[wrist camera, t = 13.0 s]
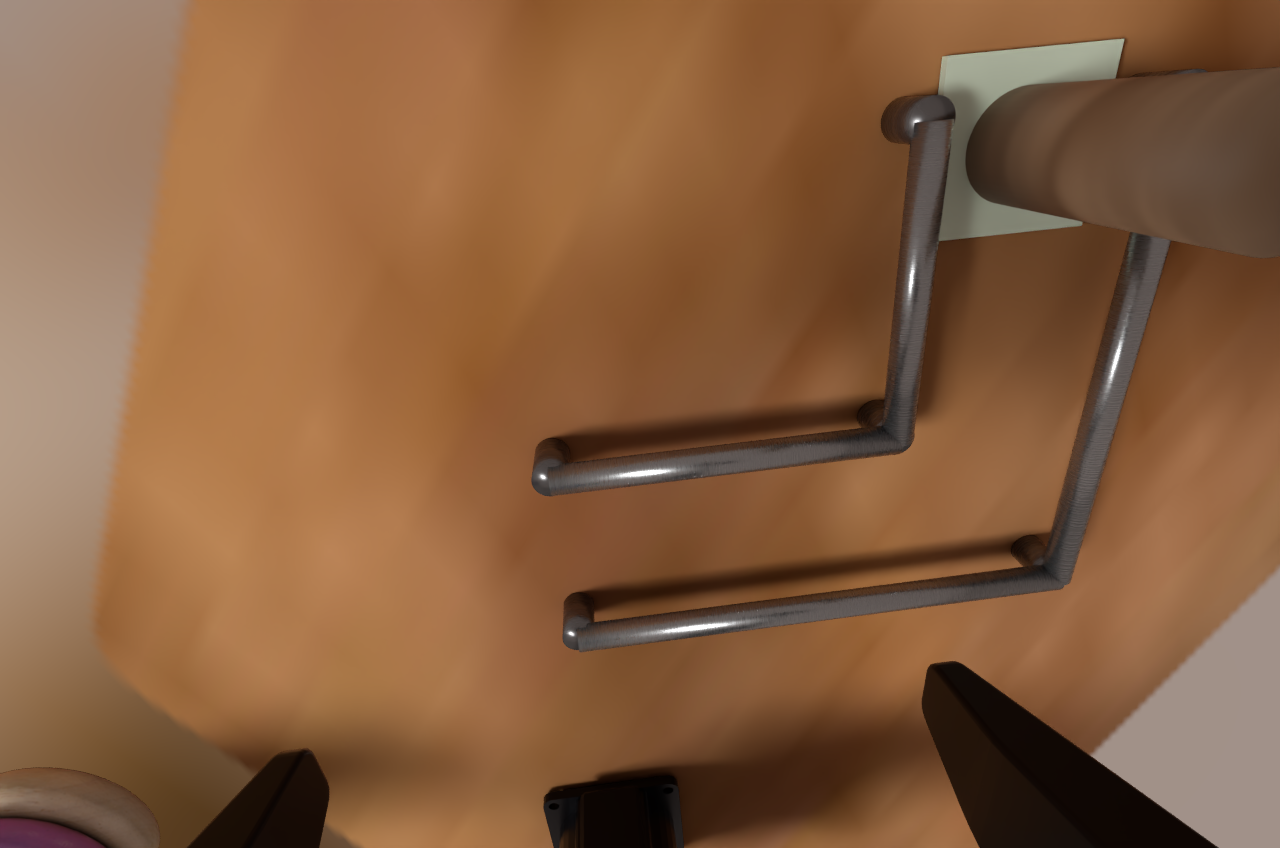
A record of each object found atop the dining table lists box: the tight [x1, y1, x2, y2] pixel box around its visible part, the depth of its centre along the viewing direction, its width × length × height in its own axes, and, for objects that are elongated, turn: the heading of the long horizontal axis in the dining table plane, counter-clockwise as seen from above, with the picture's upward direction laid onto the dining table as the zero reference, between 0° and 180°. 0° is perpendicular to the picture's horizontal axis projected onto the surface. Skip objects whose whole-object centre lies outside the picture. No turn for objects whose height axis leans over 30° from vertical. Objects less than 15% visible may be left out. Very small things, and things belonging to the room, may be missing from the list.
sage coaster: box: [938, 39, 1124, 241], centre depth 18 cm, size 5×5×1 cm
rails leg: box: [881, 69, 1207, 585], centre depth 20 cm, size 17×8×2 cm, turn 5°
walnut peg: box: [965, 67, 1280, 258], centre depth 15 cm, size 3×3×8 cm
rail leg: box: [532, 400, 1064, 652], centre depth 23 cm, size 8×20×2 cm, turn 95°
